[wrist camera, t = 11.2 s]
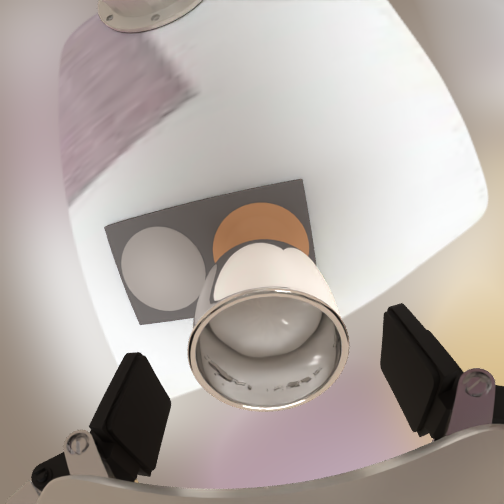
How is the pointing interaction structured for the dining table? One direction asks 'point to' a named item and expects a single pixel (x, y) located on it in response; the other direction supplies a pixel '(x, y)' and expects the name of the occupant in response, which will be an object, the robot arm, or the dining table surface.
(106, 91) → the dining table surface
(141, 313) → the mat
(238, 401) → the beer glass
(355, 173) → the dining table surface
